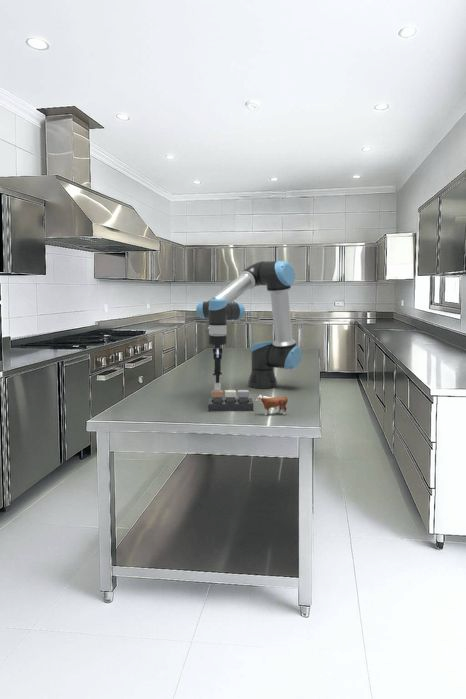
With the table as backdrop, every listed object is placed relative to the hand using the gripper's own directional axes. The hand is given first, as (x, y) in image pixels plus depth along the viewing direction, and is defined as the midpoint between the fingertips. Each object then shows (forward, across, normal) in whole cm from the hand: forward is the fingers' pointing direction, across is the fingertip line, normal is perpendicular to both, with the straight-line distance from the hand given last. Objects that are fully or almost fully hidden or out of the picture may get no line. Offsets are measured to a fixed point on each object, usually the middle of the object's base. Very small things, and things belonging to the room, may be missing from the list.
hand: (217, 389), depth 237 cm
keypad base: (+8, 0, +6) cm, 10 cm away
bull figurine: (+8, +12, +22) cm, 26 cm away
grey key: (+6, 0, +11) cm, 12 cm away
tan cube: (+6, 0, 0) cm, 6 cm away
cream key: (+6, 0, +6) cm, 8 cm away
